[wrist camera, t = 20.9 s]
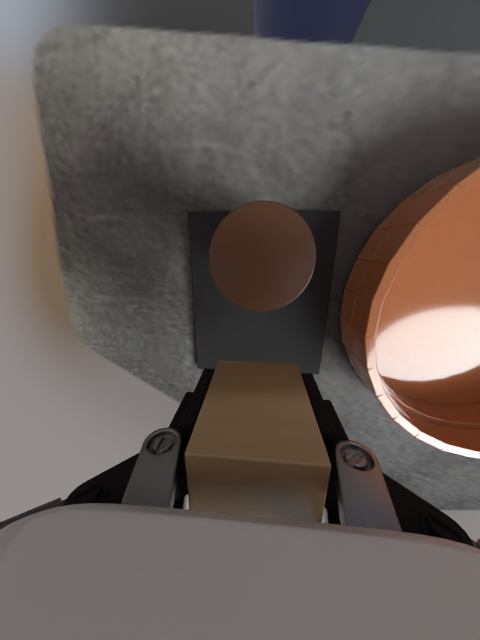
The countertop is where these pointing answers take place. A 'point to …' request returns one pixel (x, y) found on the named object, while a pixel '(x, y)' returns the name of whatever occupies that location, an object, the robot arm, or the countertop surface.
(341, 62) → the countertop surface
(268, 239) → the walnut cylinder
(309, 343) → the mat
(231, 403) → the birch block
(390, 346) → the pan
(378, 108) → the countertop surface
